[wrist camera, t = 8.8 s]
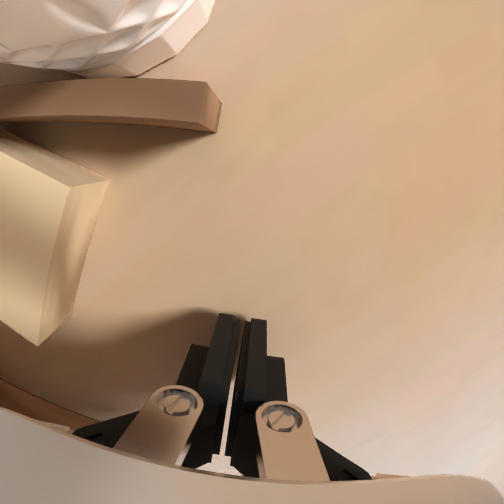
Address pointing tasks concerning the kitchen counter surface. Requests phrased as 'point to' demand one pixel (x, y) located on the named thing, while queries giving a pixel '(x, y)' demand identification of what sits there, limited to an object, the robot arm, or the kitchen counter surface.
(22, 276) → the tan square block
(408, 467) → the kitchen counter surface
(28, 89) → the corral
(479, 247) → the kitchen counter surface
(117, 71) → the white cup
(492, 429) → the kitchen counter surface
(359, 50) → the kitchen counter surface
